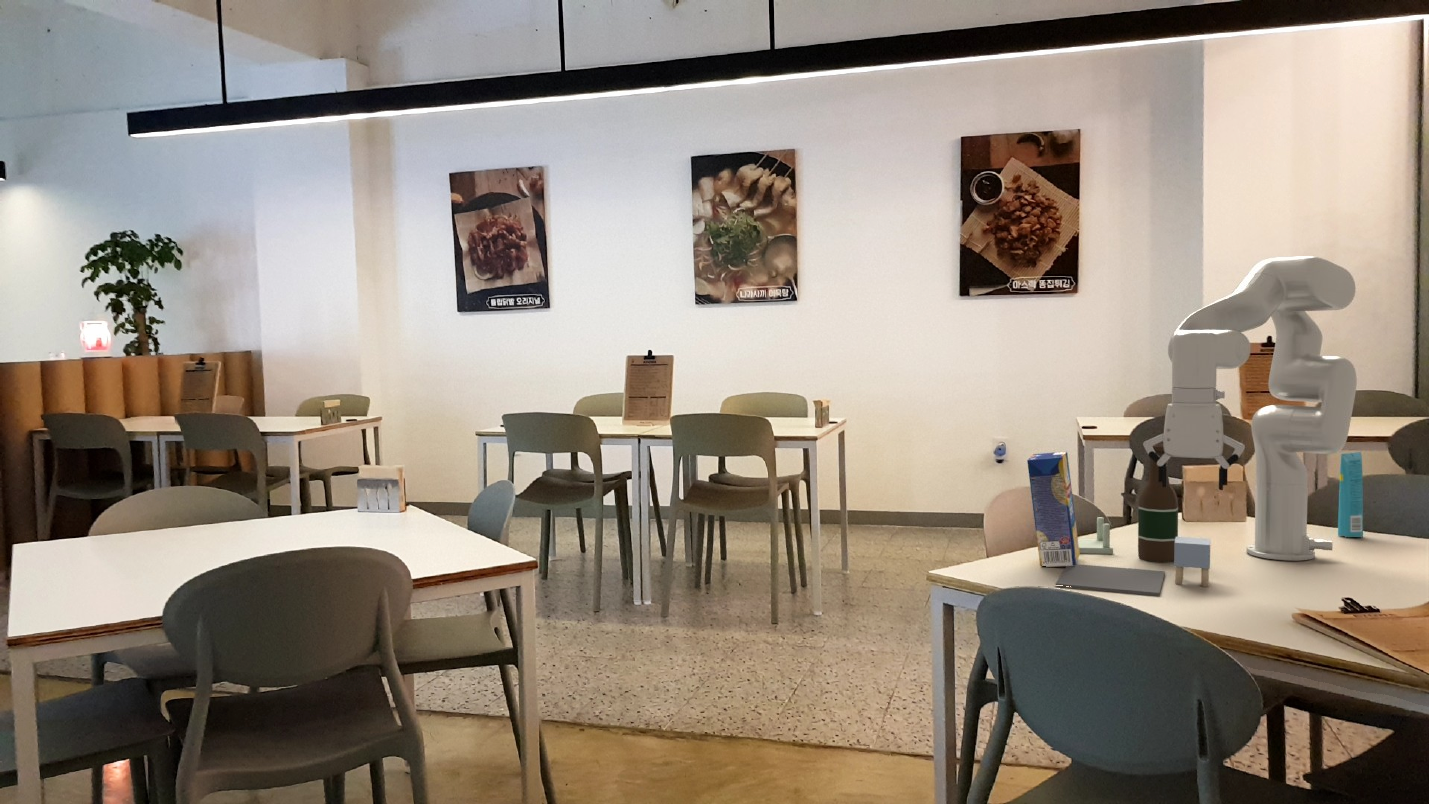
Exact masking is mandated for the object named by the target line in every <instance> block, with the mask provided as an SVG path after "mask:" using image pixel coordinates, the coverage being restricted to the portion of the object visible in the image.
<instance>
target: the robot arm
mask: <svg viewBox="0 0 1429 804" xmlns="http://www.w3.org/2000/svg"><path fill="white" fill-rule="evenodd" d="M1356 289H1357V288H1356V282H1355V279H1354V277H1353V275H1352V274H1351V272H1349V270H1347V269H1346V268H1344V267H1342V265H1341V266H1340V265H1338V264H1336V263H1334V262H1332V261H1329V260H1327V259H1325V258H1322V257H1319V256H1314V255H1313V256H1312V255H1310V256H1309V255H1306V256H1304V255H1303V256H1292V257H1291V256H1290V257H1274V258H1268V259H1264V260H1262V261H1259V262H1258V263H1256V264H1255V265H1254V266H1253V267H1252V268H1251V269H1250V270H1249V272H1248V273H1247V274H1246V275H1245V276H1244V278H1242V280H1241V282H1240V283H1239V284H1238V285H1237V286H1236V287H1235V288H1234V289H1233V291H1232V292H1231V293H1230V294H1229V295H1228V296H1225V297H1223V298H1220V299H1218V300H1216V301H1214V302H1212V303H1210V304H1208V305H1206V306H1203V307H1202V308H1200V309H1198V310H1196V311H1194V312H1193V313H1191V314H1189V315H1188V316H1186V318H1185V319H1184V320H1183V321H1182V322H1181V323H1180V324H1179V326H1178V327H1177V328H1175V329H1176V330H1174V332H1173V333H1172V336H1171V337H1170V339H1169V343H1168V346H1167V354H1168V358H1169V360H1170V362H1171V363H1172V364H1171V368H1172V369H1171V403H1167V406H1166V409H1165V416H1164V417H1165V418H1164V426H1163V433H1161V434H1159V435H1157V436H1155V437H1152V438H1150V439H1148V440H1145V441H1144V442H1143V443H1142V445H1143V447H1144V449H1145V451H1146V453H1147V455H1148V457H1149V459H1150V458H1151V459H1152V460H1153V461H1154V462H1155V463H1156V464H1157V465H1158V466H1159V478H1158V481H1159V482H1162V487H1166V486H1167V466H1166V462H1168V461H1169V459H1171V457H1172V458H1174V457H1175V458H1189V459H1190V458H1195V459H1197V458H1198V459H1214V460H1215V461H1217V463H1218V464H1219V466H1220V467H1218V490H1220V491H1223V490H1224V486H1228V471H1229V470H1228V469H1229V468H1230V467H1231V466H1232V465H1233V464H1235V463H1236V462H1237V461H1238V460H1239V459H1240V457H1241V456H1242V454H1243V452H1244V451H1245V448H1246V445H1245V444H1243V443H1242V442H1239V441H1238V440H1235V439H1233V438H1232V437H1229V436H1227V435H1226V434H1224V420H1223V419H1224V418H1223V412H1222V407H1221V404H1219V403H1217V401H1218V400H1220V399H1225V396H1226V395H1225V390H1223V391H1222V390H1219V389H1217V371H1218V370H1233V369H1237V368H1240V367H1242V366H1244V364H1245V363H1246V362H1247V361H1248V359H1249V358H1250V355H1251V351H1252V350H1251V349H1252V348H1251V342H1250V340H1249V339H1248V336H1246V335H1245V332H1247V331H1251V330H1254V329H1257V328H1259V327H1262V326H1263V325H1264V324H1266V323H1267V322H1268V320H1269V319H1270V318H1271V320H1272V322H1273V324H1274V328H1275V337H1276V338H1275V344H1274V350H1273V356H1272V360H1271V366H1270V370H1269V377H1268V391H1269V393H1270V394H1271V396H1272V397H1274V398H1276V399H1278V400H1282V401H1288V402H1290V401H1292V402H1304V403H1305V402H1306V403H1307V402H1308V403H1309V402H1310V403H1321V406H1304V405H1292V404H1291V405H1290V404H1271V405H1267V406H1263V407H1262V408H1259V409H1258V410H1257V411H1255V413H1254V414H1253V416H1252V418H1251V419H1252V420H1251V424H1250V425H1251V426H1250V427H1251V435H1252V440H1253V446H1254V453H1255V506H1254V507H1255V508H1254V509H1255V510H1254V511H1255V512H1254V516H1255V517H1254V543H1253V544H1248V545H1247V546H1246V551H1245V552H1246V553H1247V554H1249V555H1250V556H1253V557H1257V558H1261V559H1262V558H1263V559H1267V560H1276V561H1277V560H1278V561H1288V562H1289V561H1292V562H1293V561H1295V562H1296V561H1307V560H1308V559H1309V560H1312V559H1314V558H1315V557H1316V552H1315V550H1322V551H1333V540H1325V539H1315V538H1311V537H1310V536H1309V533H1308V532H1307V531H1308V530H1307V529H1308V523H1307V522H1308V490H1309V489H1308V488H1309V487H1308V483H1309V482H1308V481H1309V474H1308V470H1307V467H1306V465H1305V464H1304V462H1303V460H1302V459H1301V457H1300V456H1299V455H1298V453H1308V454H1318V455H1320V454H1321V455H1331V454H1332V455H1333V454H1337V453H1339V452H1340V451H1342V449H1344V447H1345V445H1346V443H1347V440H1348V436H1349V431H1350V426H1351V421H1352V420H1351V419H1352V414H1353V409H1354V404H1355V397H1356V393H1357V384H1358V383H1357V372H1356V368H1355V366H1354V364H1353V363H1352V362H1351V361H1350V360H1349V359H1347V358H1345V357H1342V356H1338V355H1337V356H1335V355H1333V356H1331V355H1328V356H1327V355H1323V356H1322V355H1321V351H1322V343H1323V334H1322V331H1321V330H1320V329H1321V328H1320V327H1319V325H1318V324H1317V323H1316V321H1314V320H1313V319H1312V318H1311V316H1310V315H1309V314H1308V313H1307V312H1316V311H1317V312H1323V311H1338V310H1339V311H1340V310H1343V309H1346V308H1347V307H1348V306H1350V305H1351V304H1352V302H1353V300H1354V298H1355V295H1356ZM1161 442H1163V444H1162V445H1163V447H1164V454H1163V455H1162V456H1161V457H1160V456H1159V455H1158V454H1157V453H1156V452H1155V451H1154V449H1153V445H1155V444H1160V443H1161ZM1224 444H1226V445H1228V446H1230V447H1231V448H1233V449H1234V451H1233V453H1231V455H1230V456H1228V457H1227V458H1225V456H1223V451H1224ZM1309 560H1308V561H1309Z"/></svg>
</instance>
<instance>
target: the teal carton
mask: <svg viewBox="0 0 1429 804" xmlns="http://www.w3.org/2000/svg"><path fill="white" fill-rule="evenodd" d="M1340 457H1341V458H1340V467H1339V468H1340V469H1339V486H1338V487H1339V491H1338V515H1337V516H1338V519H1337V535H1339V537H1340V536H1345V537H1344V538H1346V537H1361V538H1363V537H1362V536H1364V501H1363V499H1364V491H1363V490H1364V489H1363V487H1364V486H1363V483H1364V482H1363V480H1364V479H1363V478H1364V477H1363V476H1364V475H1363V458H1362V452H1361V451H1356V452H1348V453H1344V452H1343V453H1341V455H1340Z"/></svg>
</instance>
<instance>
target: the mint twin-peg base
mask: <svg viewBox="0 0 1429 804" xmlns="http://www.w3.org/2000/svg"><path fill="white" fill-rule="evenodd" d="M1104 519H1105V518H1104V517H1102V516H1101V517H1100V516H1099V517H1098V516H1097V517H1096V538H1079V537H1078V545H1079V553H1080V554H1097V555H1098V554H1101V555H1102V554H1104V555H1105V554H1106V555H1108V554H1109V555H1114V548H1113V546H1111V543H1110V542H1111V536H1110V535H1111V534H1110V533H1111V532H1110V531H1111V524H1110V523H1104V521H1105V520H1104Z"/></svg>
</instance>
